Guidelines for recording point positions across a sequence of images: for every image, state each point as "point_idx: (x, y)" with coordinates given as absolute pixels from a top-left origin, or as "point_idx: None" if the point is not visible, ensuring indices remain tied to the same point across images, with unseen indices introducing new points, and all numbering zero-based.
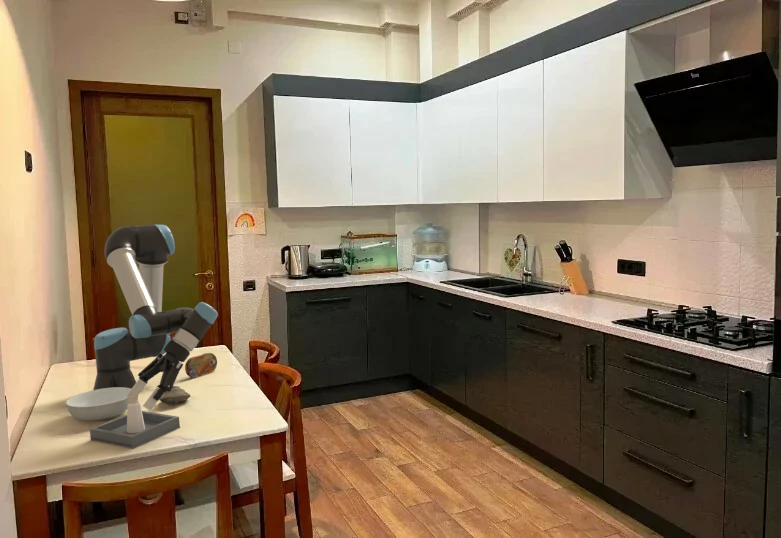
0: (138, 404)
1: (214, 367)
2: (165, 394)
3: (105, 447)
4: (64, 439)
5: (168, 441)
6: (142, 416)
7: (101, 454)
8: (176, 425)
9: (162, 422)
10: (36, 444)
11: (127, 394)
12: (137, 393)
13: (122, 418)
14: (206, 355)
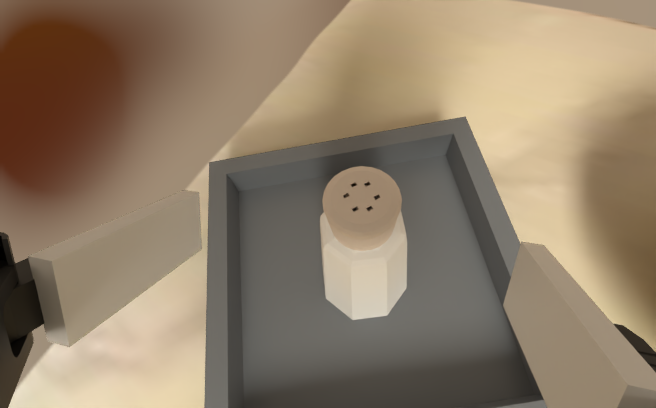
0: (322, 238)
1: None
2: None
3: None
4: (549, 104)
5: (151, 301)
6: (342, 293)
7: (288, 114)
8: None
9: (224, 347)
10: (571, 45)
11: (545, 253)
12: (528, 341)
13: (507, 274)
14: None
